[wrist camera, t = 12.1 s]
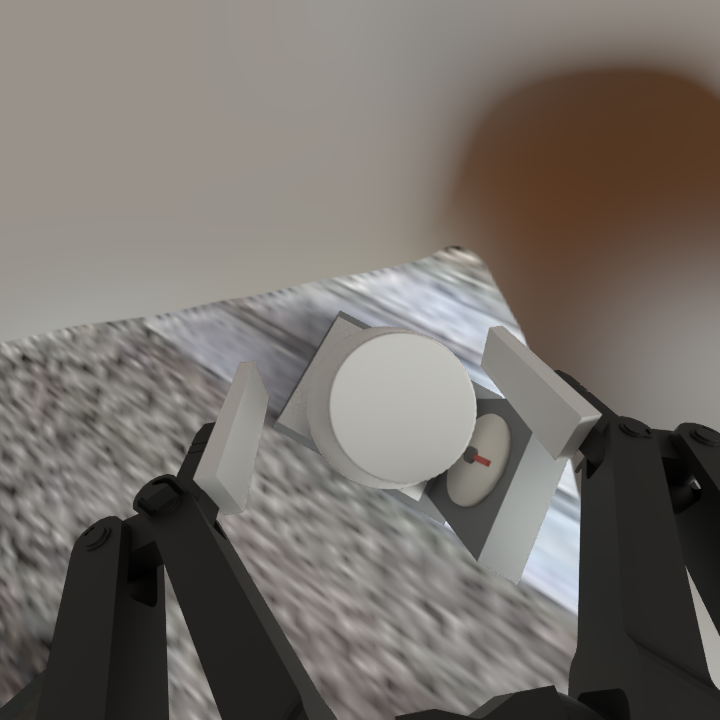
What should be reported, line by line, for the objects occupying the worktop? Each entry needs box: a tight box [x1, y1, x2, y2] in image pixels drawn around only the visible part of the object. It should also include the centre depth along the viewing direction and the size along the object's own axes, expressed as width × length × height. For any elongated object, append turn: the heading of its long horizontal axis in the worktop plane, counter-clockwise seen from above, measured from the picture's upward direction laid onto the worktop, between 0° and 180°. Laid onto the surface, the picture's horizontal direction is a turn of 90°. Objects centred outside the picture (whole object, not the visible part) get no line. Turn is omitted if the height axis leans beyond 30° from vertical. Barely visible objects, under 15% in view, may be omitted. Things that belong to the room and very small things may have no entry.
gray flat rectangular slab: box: [277, 316, 428, 501], centre depth 24 cm, size 14×11×1 cm
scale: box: [272, 311, 568, 585], centre depth 22 cm, size 18×13×13 cm
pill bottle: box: [307, 327, 477, 489], centre depth 16 cm, size 8×8×15 cm
